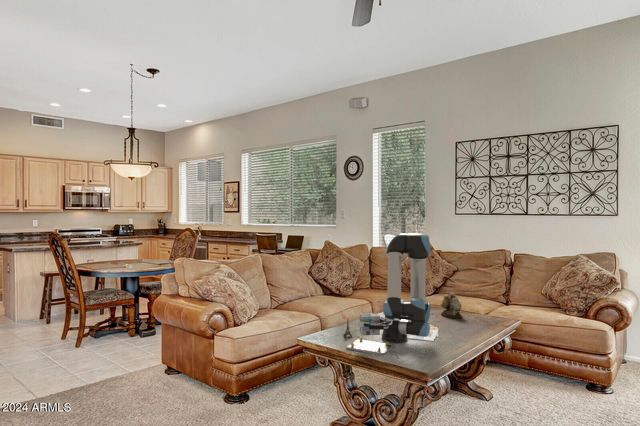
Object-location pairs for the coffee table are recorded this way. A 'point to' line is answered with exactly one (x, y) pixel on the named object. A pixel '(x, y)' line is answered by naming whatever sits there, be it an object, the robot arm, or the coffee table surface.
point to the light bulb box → (373, 319)
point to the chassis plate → (370, 347)
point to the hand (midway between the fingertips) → (363, 321)
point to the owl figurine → (451, 306)
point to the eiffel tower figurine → (348, 333)
